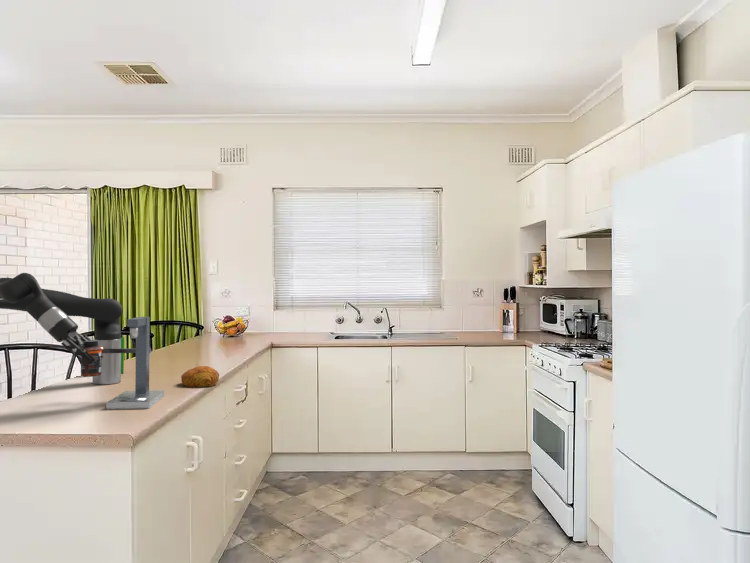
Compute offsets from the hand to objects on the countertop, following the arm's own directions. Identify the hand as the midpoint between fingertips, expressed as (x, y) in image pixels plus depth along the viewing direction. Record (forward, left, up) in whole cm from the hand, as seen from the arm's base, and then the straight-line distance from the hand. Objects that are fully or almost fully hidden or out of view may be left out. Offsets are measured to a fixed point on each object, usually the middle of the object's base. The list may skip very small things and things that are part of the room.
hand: (96, 360), depth 174 cm
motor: (-17, +62, -15) cm, 66 cm away
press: (+11, +4, -15) cm, 19 cm away
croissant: (+26, +35, -15) cm, 46 cm away
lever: (+4, +13, 0) cm, 13 cm away
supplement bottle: (-2, 0, -5) cm, 5 cm away
